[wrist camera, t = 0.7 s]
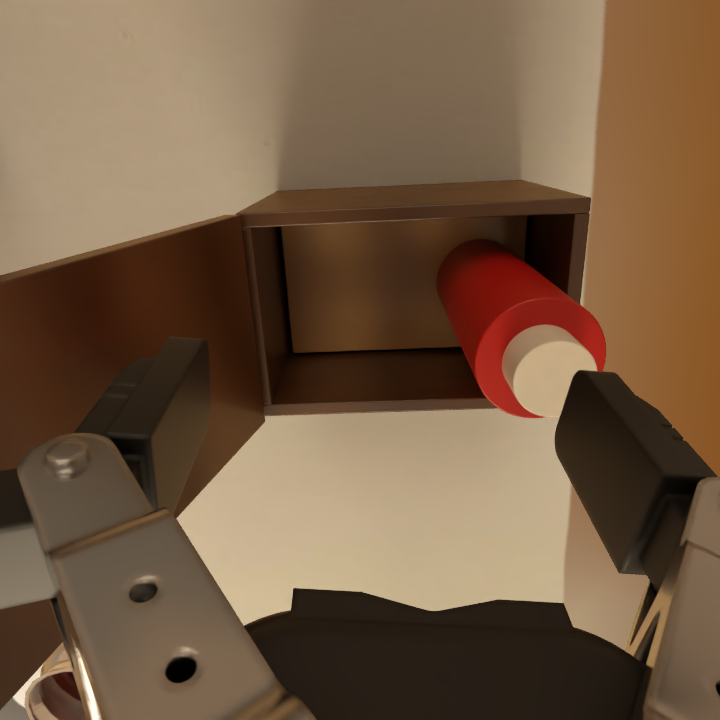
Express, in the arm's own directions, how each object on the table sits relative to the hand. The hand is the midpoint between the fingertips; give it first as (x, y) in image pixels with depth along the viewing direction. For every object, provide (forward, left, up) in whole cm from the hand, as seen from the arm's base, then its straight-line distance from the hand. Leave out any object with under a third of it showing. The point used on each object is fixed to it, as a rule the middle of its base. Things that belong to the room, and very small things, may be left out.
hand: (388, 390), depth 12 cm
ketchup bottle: (-3, +5, -18) cm, 19 cm away
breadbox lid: (+7, -3, -4) cm, 9 cm away
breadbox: (0, +2, -22) cm, 22 cm away
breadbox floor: (0, +2, -22) cm, 22 cm away
